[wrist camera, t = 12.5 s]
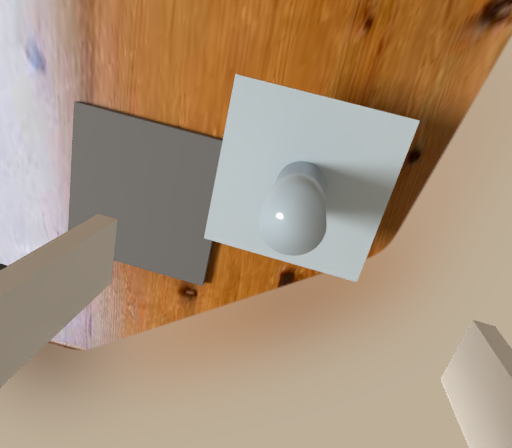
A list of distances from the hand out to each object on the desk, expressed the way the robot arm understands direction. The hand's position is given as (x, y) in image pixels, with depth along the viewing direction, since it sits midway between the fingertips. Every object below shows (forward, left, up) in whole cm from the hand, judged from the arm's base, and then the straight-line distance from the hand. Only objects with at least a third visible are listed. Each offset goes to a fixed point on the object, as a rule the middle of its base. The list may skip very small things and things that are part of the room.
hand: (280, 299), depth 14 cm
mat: (-17, -9, -28) cm, 34 cm away
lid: (0, 0, -19) cm, 19 cm away
